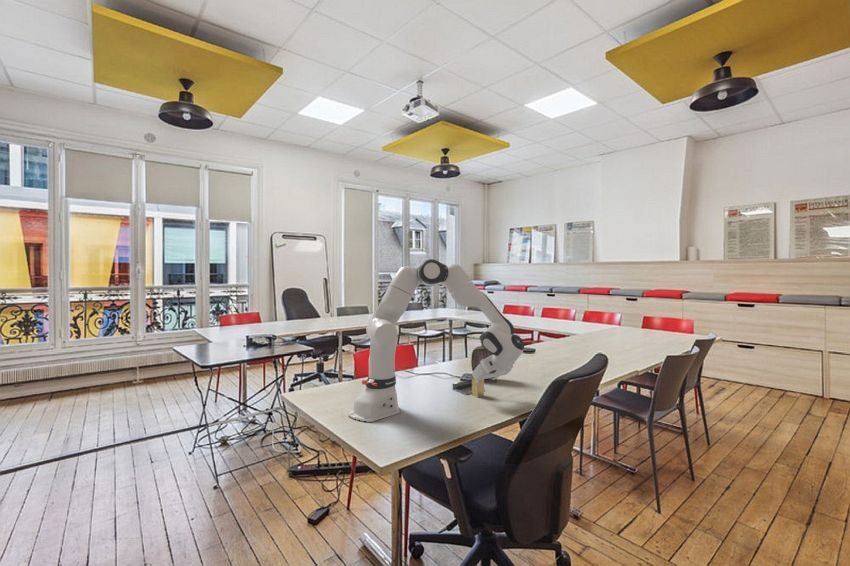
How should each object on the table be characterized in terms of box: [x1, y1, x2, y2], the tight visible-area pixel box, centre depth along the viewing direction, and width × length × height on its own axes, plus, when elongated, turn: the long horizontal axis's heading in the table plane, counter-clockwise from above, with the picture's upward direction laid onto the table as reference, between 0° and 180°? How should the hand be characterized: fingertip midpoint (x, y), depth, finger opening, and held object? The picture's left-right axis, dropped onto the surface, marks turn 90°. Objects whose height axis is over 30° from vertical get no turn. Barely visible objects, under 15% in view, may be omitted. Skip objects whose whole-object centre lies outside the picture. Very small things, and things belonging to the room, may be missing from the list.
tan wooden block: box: [471, 377, 485, 399], centre depth 186 cm, size 4×4×8 cm
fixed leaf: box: [452, 379, 472, 396], centre depth 195 cm, size 10×12×4 cm
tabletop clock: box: [470, 336, 498, 382], centre depth 213 cm, size 14×9×25 cm, turn 73°
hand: (484, 380), depth 182 cm, fingers open, 8 cm apart
